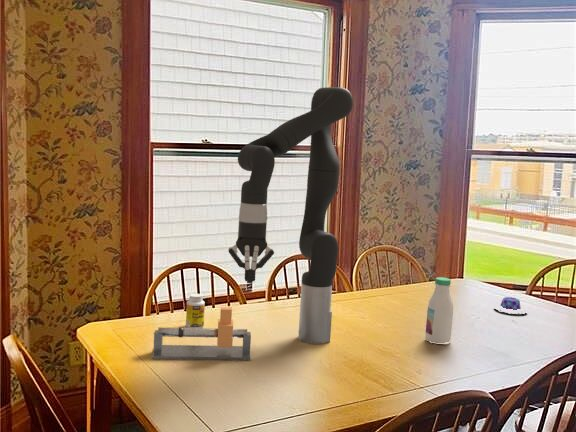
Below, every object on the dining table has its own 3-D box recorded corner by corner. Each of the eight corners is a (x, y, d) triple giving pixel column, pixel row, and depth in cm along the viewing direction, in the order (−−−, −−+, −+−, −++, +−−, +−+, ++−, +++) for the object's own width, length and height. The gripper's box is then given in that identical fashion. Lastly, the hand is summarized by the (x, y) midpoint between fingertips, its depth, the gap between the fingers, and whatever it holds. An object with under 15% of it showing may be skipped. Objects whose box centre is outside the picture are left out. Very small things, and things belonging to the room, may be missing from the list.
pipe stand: (248, 349, 175) (250, 323, 174) (250, 360, 166) (251, 334, 165) (155, 347, 172) (156, 322, 171) (152, 359, 163) (153, 332, 162)
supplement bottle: (190, 330, 189) (191, 298, 187) (182, 325, 193) (184, 293, 192) (206, 328, 192) (208, 296, 190) (199, 323, 196) (200, 292, 195)
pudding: (489, 312, 230) (491, 298, 229) (497, 306, 240) (498, 293, 239) (523, 319, 224) (525, 304, 223) (529, 312, 234) (531, 298, 233)
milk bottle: (452, 340, 193) (458, 278, 190) (447, 347, 186) (453, 282, 184) (427, 336, 196) (433, 274, 194) (422, 342, 189) (427, 279, 187)
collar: (231, 340, 173) (233, 305, 171) (232, 347, 167) (233, 311, 165) (217, 339, 172) (218, 305, 171) (217, 347, 166) (218, 311, 165)
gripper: (276, 219, 170) (272, 280, 172) (228, 216, 169) (225, 278, 171) (278, 222, 163) (274, 286, 165) (228, 220, 161) (225, 285, 163)
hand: (249, 282), depth 168 cm, fingers closed
